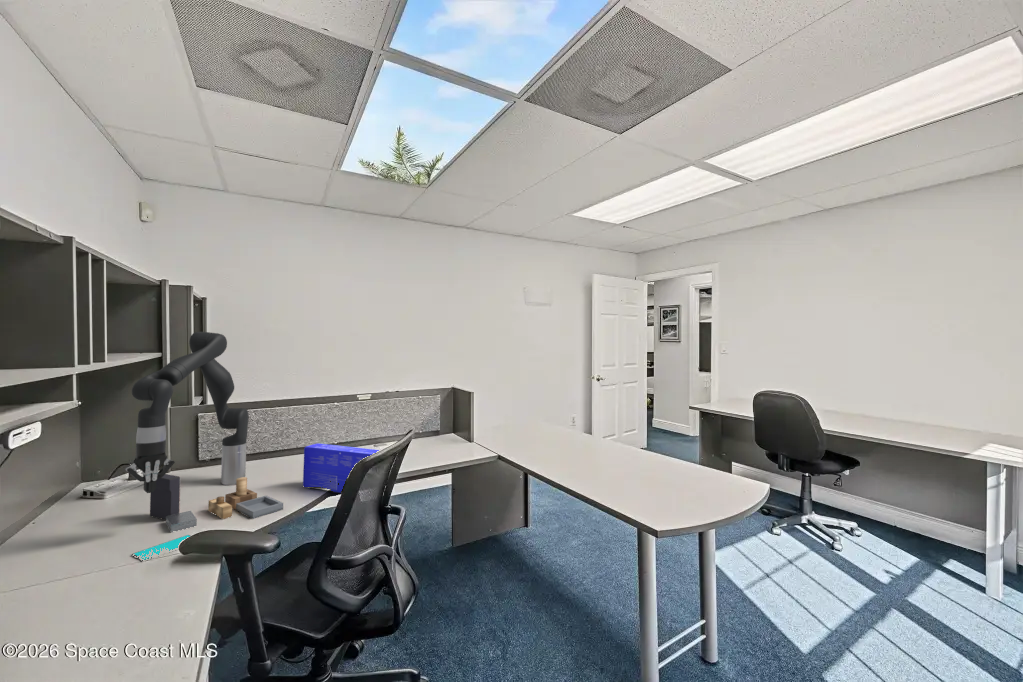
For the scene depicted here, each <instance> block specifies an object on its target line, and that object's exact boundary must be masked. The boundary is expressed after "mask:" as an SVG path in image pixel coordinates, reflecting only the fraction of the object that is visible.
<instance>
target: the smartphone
mask: <svg viewBox="0 0 1023 682" xmlns="http://www.w3.org/2000/svg"><path fill="white" fill-rule="evenodd" d="M190 536H191V535H190V534H186V535H183V536H180V537H177V538H174V539H172V540H168V541H166V542H162V543H159V544H157V545H153V546H152V547H148V548H145V549H142V550H140V551H136V552H134V553H132V554H131V556H132V555H133V554H135V555H134V556H136V557H137V556H139V555H140V556H141V555H142V553H143V554H144V553H145V554H144V555H142V557H143V556H144V557H145V556H146V554H147V555H148V554H149V551H150V552H151V549H152V550H153V552H154V553H156V554H158V555H159V553H160V548H161V551H162V548H163V549H164V547H165V549H166V548H168V549H169V551H170V550H171V549H172V550H173V549H175V548H178V545H179V543H180V542H181V541H182V540H184V539H186V538H187V537H190ZM155 548H156V549H157V550H159V551H157V552H156V549H155ZM144 550H145V551H144ZM166 550H167V549H166ZM153 552H152V555H153ZM152 555H151V556H152ZM149 556H150V555H149ZM142 557H141V558H142ZM138 558H139V557H138ZM146 558H147V557H145V559H144V558H142V559H144V560H146ZM151 558H152V557H151ZM147 559H149V557H148V558H147ZM142 561H143V560H142ZM142 561H141V562H142Z"/></svg>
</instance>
